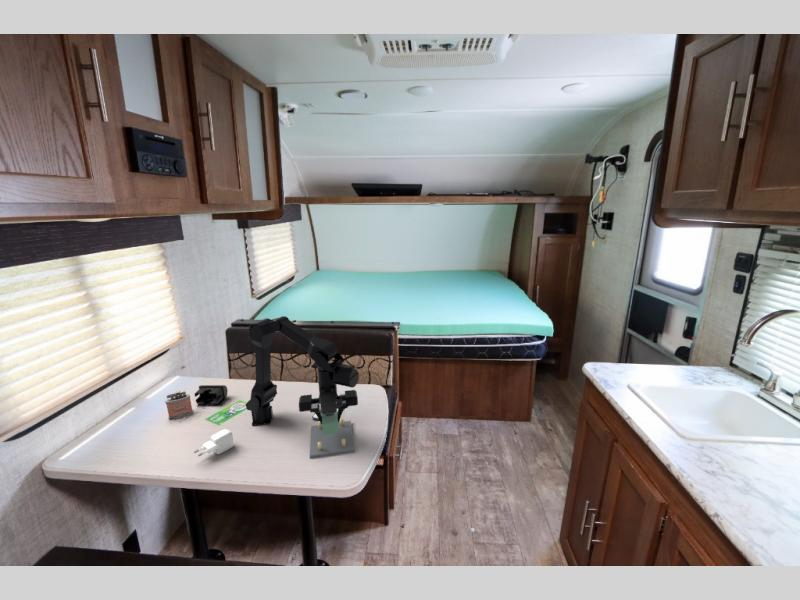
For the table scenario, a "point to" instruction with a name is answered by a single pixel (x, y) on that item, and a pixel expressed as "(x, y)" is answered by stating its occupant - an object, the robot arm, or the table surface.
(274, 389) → the robot arm
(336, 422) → the circuit board module
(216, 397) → the end cap
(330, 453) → the chassis
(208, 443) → the power adapter
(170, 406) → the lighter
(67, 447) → the table surface
